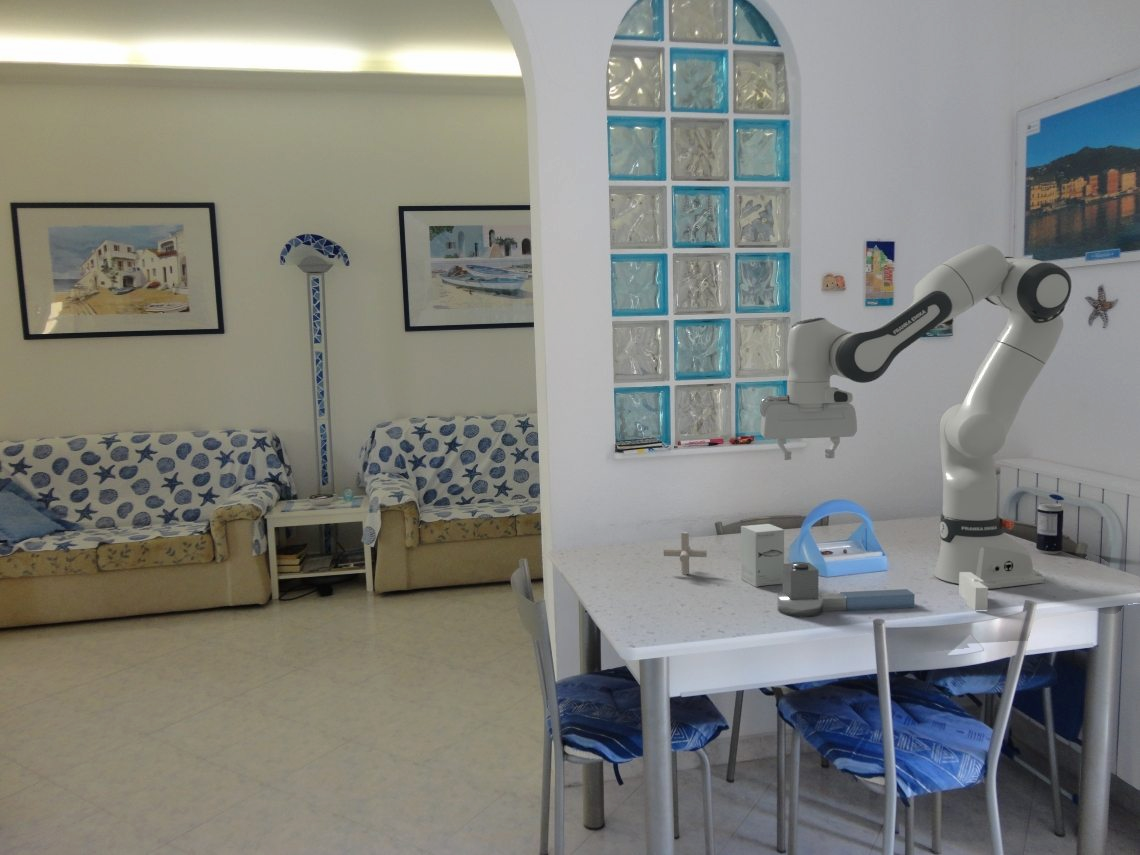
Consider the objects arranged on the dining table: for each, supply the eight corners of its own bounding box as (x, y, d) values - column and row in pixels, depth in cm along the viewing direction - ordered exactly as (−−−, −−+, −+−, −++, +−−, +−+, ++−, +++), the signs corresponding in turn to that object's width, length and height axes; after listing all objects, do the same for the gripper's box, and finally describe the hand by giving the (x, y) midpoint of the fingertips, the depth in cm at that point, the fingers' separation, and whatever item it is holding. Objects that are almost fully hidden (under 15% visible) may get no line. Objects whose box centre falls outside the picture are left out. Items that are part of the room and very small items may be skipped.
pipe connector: (705, 580, 201) (705, 537, 200) (662, 579, 203) (661, 537, 202) (707, 568, 211) (707, 528, 210) (666, 567, 213) (665, 527, 212)
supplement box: (755, 587, 194) (755, 532, 193) (740, 579, 202) (739, 525, 200) (785, 584, 196) (785, 529, 195) (769, 575, 203) (768, 522, 202)
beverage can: (1066, 554, 214) (1068, 506, 213) (1043, 555, 214) (1044, 507, 213) (1054, 548, 219) (1055, 501, 218) (1031, 549, 220) (1032, 502, 218)
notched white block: (954, 592, 189) (954, 566, 188) (1011, 601, 181) (1011, 574, 181) (929, 609, 178) (929, 582, 177) (988, 620, 170) (989, 591, 169)
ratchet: (900, 598, 184) (901, 565, 183) (920, 611, 175) (920, 577, 174) (772, 604, 182) (772, 571, 182) (785, 618, 173) (785, 583, 173)
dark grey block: (809, 590, 181) (809, 559, 180) (818, 599, 175) (818, 567, 175) (782, 592, 181) (782, 560, 180) (790, 600, 175) (790, 568, 174)
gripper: (764, 397, 183) (764, 462, 185) (860, 394, 184) (859, 459, 186) (756, 395, 189) (756, 458, 191) (849, 392, 190) (848, 455, 192)
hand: (808, 458), depth 188 cm, fingers open, 8 cm apart
